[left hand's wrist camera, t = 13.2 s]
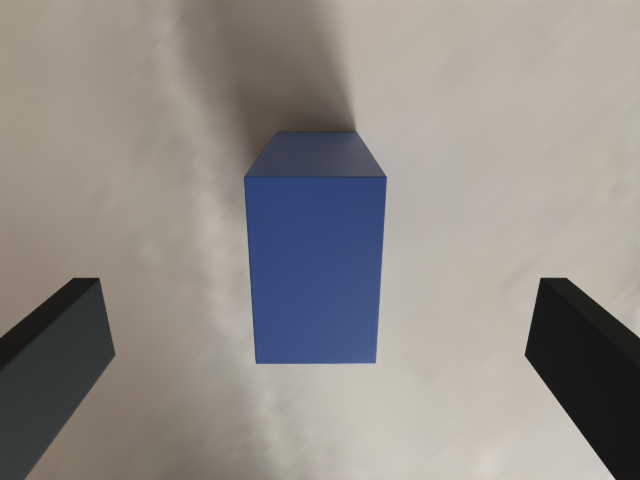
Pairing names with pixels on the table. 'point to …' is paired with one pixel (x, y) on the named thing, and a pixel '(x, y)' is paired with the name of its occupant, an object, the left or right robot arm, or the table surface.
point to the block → (315, 248)
